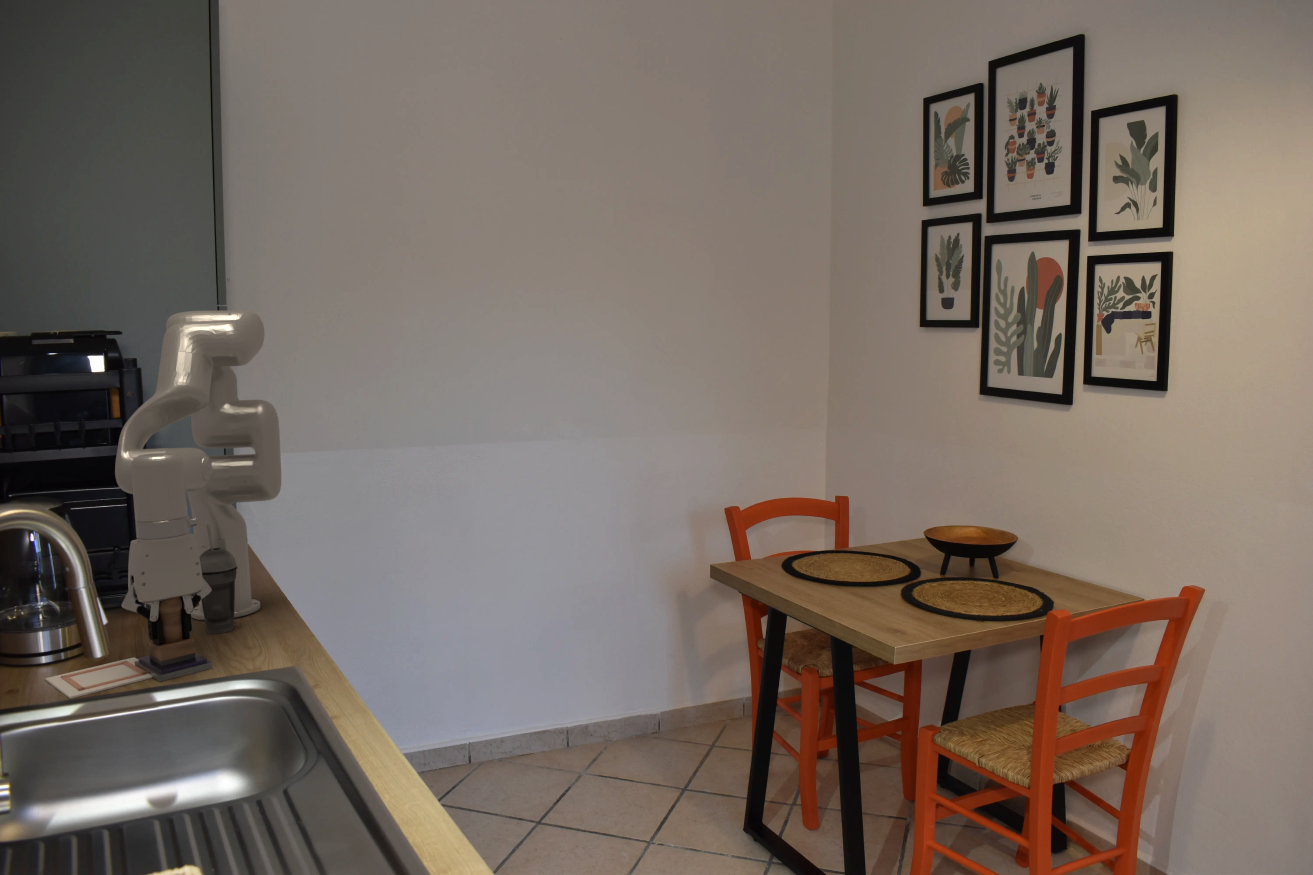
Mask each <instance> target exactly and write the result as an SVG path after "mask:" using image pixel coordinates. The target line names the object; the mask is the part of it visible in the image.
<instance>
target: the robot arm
mask: <svg viewBox="0 0 1313 875" xmlns="http://www.w3.org/2000/svg"><path fill="white" fill-rule="evenodd" d="M165 326H166V327H165V328H166V329H165V330H166V331H165V332H164V334H163V339H162V344H161V346H162V347H161V354H160V359H159V360H160V361H159V366H158V375H157V382H156V390H155V393H154V395H152V396H151V397H150V398H149V399H147V400H146V401H145V402H143V404H142V405H140V407H138V408H137V410H135V411H134V412H133V414H132V415H131V416H130V417H129V418H128V419H127V421H126V422H125V423H124V426H123V427H122V429H121V432H120V435H119V439H118V445H117V450H116V457H115V463H114V464H115V466H114V469H115V470H114V475H115V476H114V477H115V480H116V483H117V485H118V487H119V488H120V489H121V490H122V491H123V492H125V493H127V494H130V495H133V496H132V497H133V508H134V509H133V510H134V520H135V522H134V523H135V533H136V539H134V540H133V539H132V540H131V541H130V545H129V553H128V565H127V566H128V569H127V572H128V573H127V574H128V575H127V578H128V580H127V581H128V582H127V584H128V585H127V586H128V589H127V590H128V591H127V593H126V596H124V599H123V601H122V603H121V604H120V605H121V607H122V609H124V610H127V611H130V612H132V613H133V612H134V613H137V614H138V615H141V616H142V617H143V618H144V619H146V620H147V629H148V638H149V641H153V642H154V643H156V644H158V645H161V644H163V643H164V640H163V627H162V621H161V620H159V616H158V611H159V601H162V600H167V599H171V598H178V597H180V598H181V599H182V608H181V619H182V632H183V638H185V639H187V638H191V634H190V632H192V630H193V626H192V624H193V623H192V619H195V620H199V621H205V619H204V613H203V607H202V601H201V599H202V598H204V597H205V596H206V595H208V594H209V593H210V592H211V591H212V589H211V587H210V586H209V585H208V584H207V582H206V581H205V580H204V578H203V577H202V570H201V564H200V558H199V556H200V555H201V554H202V553H203V552H205V551H206V550H208V549H210V544H209V538H208V531H207V525H210V531H211V537H212V543H213V548H222V549H225V550H227V551H228V552H230V553H231V554H232V555H233V557H234V559H235V561H236V565H237V569H236V571H237V573H236V579H235V604H234V619H235V618H240V617H244V616H248V615H250V614H253V613H255V612H257V611H259V610H260V609H261V602H260V600H257V599H255V598H254V599H253V598H252V588H251V573H250V558H249V546H248V545H249V542H248V534H247V533H248V529H247V528H248V527H247V523H246V520H245V519H244V517H243V516H242V514H241V513H240V512H239V511H238V509H236V508H235V506H233V505H232V504H237V503H249V502H250V503H253V502H254V503H255V502H265V501H272V500H275V499H276V498H277V497H278V496H279V494H280V492H281V489H282V461H281V460H282V459H281V435H280V434H281V431H280V421H279V416H278V413H277V411H276V410H277V409H276V408H275V406H274V405H273V404H272V403H271V402H269V401H267V400H265V399H263V400H262V399H239V394H238V377H237V375H236V373H235V371H234V369H232V367H242V366H245V365H247V364H249V363H250V362H251V361H252V360H253V359H254V358H255V356H256V355H257V354H259V352H260V350H261V349H262V347H263V346H264V345H263V344H264V341H265V326H264V322H263V320H262V318H261V317H260V315H258V313H257V312H255V311H253V310H246V309H245V310H242V309H241V310H240V309H239V310H237V309H236V310H232V309H231V310H190V311H189V310H188V311H182V312H177V313H174V314H172V315H170V316H169V317H168V318H167V320H166V324H165ZM189 417H191V418H190V420H191V422H190V423H191V432H192V439H193V441H194V443H195V444H196V445H197V446H199V447H201V448H205V449H219V450H220V449H238V448H239V449H240V448H242V449H243V448H251V449H253V450H254V453H251V454H250V453H248V454H223V455H221V454H220V455H208V454H207V453H206V452H205V451H203V450H202V449H199V448H196V447H166V448H165V447H164V448H161V447H160V448H144V447H145V445H146V444H147V442H148V440H150V438H152V437H153V436H154V435H155V434H156V433H157V432H159V431H160V430H162V429H164V428H165V427H168V426H170V425H173V424H174V423H175V424H176V423H177V422H179V421H181V420H184V419H186V418H189ZM187 498H188V500H189V505H190V510H191V511H190V512H191V516H192V517H190V515H188V501H187ZM192 527H193V533H191V528H192ZM136 601H138V602H140V603H142V604H144V605H141V604H138V603H136ZM197 605H198V606H197Z"/></svg>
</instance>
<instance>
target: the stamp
mask: <svg viewBox="0 0 1313 875" xmlns="http://www.w3.org/2000/svg"><path fill="white" fill-rule="evenodd" d="M181 608H182V599H181V598H180V597H178V598H171V599H167V600H162V601H159V611H158V616H159V620H161V621H162V627H163V640H164V643H163V644H161V645H158V644H156V643H154V642H153V641H152V640H149V641H148V642H147V643H148V652H149V655H150V660H152V661H154V662H155V663H157V664H159V665H161V666H163V665H168V664H172V663H176V662H180V661H184V660H188V659H192V658H195V653H196V647H195V646H196V645H195V639H194V638H191V637H190V638H187V639H185V638H183V632H182V619H181Z"/></svg>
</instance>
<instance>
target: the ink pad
mask: <svg viewBox="0 0 1313 875" xmlns="http://www.w3.org/2000/svg"><path fill="white" fill-rule="evenodd" d="M138 660H139V661H135V666H136V667H138V668H140V669H141V670H143V671H145V672H147V673H148V674H150V675H152V677H153V678H152V679H154V680H155V681H157V682H159V683H161V682H164V681H168V680H172V679H177V678H181V677H183V676H188V675H191V674H196V673H199V672H202V671H203V672H204V671H208V670H210V669H211V670H212V669H213V664H212V662H211V661H210V660H208V659H207V658H206V657H205V656H202V655H199V654H197V653H196V652H195V658H192V659H188V660H184V661H180V662H176V663H172V664H168V665H163V666H161V665H159V664H157V663H155V662H154V661H152V660H150V655H145V656H141V657H140V656H139V657H138Z"/></svg>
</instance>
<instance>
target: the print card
mask: <svg viewBox="0 0 1313 875" xmlns="http://www.w3.org/2000/svg"><path fill="white" fill-rule="evenodd" d="M135 661H139V658H136V657H130V658H126V659H122V660H116V661H113V662H109V663H105V664H101V665H97V666H92V667H87V668H84V669H80V670H79V669H77V670H75V671H71V672H66V673H62V674H58V675H54V676H50V677H45V678H44V679H45V681H46V682H47V683H49V684H50V685H51V687H54V688H55V689H56V690H57V691H59V692H60V693H62V694H63V695H64V696H65V697H67V698H68V699H75V698H78V697H83V696H86V695H90V694H95V693H98V692H102V691H105V690H106V691H107V690H110V689H115V688H118V687H121V686H125V685H129V684H134V683H138V682H141V681H145V680H149V679H154V678H153V677H152V675H150V674H148V673H147V672H145V671H143V670H141V669H140V668H138V667H136V666H135Z"/></svg>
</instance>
